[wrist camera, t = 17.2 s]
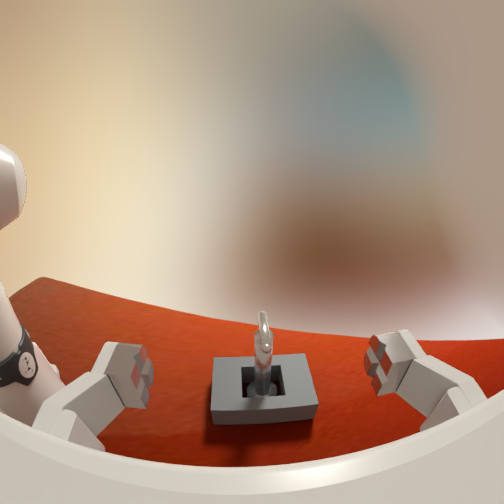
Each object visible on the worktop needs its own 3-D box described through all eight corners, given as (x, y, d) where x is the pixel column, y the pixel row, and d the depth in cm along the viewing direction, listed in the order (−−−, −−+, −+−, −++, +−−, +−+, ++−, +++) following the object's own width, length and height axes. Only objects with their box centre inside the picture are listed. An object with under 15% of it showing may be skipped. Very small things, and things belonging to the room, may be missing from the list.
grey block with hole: (213, 424, 32) (210, 410, 31) (216, 373, 41) (214, 357, 40) (313, 418, 33) (318, 403, 31) (301, 369, 42) (304, 353, 40)
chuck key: (248, 416, 34) (246, 349, 28) (246, 379, 40) (244, 309, 35) (279, 414, 34) (287, 347, 28) (273, 378, 41) (279, 308, 35)
